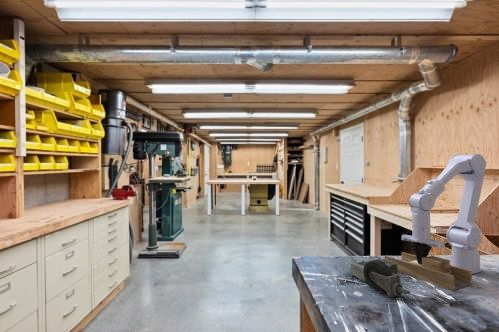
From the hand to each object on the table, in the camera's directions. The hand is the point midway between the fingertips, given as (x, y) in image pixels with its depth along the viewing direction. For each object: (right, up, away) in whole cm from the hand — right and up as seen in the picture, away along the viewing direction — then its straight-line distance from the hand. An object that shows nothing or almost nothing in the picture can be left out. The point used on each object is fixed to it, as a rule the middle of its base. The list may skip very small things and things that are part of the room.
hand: (421, 263), depth 108 cm
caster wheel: (-20, -4, -15) cm, 26 cm away
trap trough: (+1, -4, -1) cm, 4 cm away
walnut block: (+2, -1, -5) cm, 5 cm away
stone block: (-19, -4, -2) cm, 19 cm away
